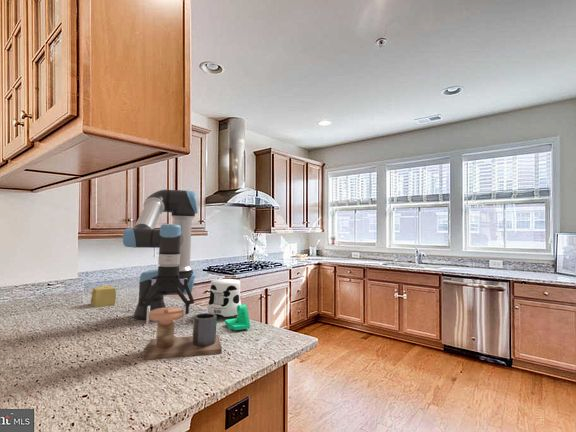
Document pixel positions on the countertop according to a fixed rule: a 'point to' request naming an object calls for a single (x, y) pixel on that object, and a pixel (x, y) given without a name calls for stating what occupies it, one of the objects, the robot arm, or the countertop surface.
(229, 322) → the camera mount
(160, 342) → the brown board with post
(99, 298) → the cheese
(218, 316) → the milk container
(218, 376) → the countertop surface
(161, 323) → the domed pot lid
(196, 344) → the tube
